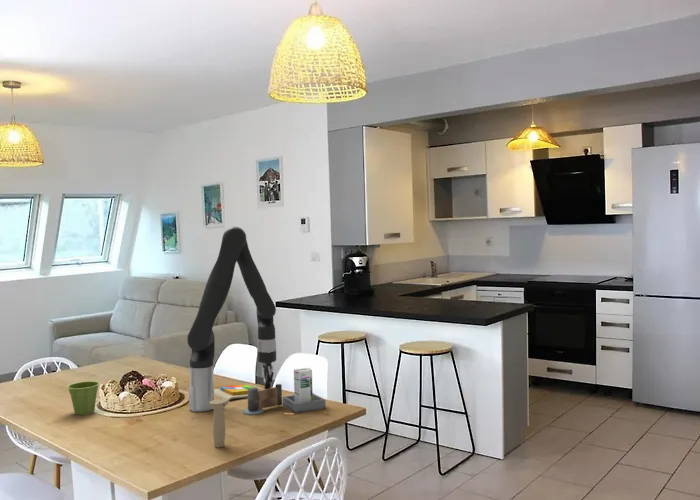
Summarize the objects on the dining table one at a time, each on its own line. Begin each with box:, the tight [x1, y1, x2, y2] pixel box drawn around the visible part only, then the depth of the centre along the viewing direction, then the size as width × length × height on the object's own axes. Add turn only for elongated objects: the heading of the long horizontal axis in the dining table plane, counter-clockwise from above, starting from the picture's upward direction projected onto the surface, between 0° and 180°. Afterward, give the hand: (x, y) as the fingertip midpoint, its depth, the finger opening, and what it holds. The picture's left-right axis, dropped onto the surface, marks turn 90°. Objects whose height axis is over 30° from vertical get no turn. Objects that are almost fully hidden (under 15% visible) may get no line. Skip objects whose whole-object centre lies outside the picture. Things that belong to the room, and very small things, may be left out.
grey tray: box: [282, 392, 326, 414], centre depth 247 cm, size 13×13×4 cm
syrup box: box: [293, 367, 314, 403], centre depth 247 cm, size 6×6×14 cm
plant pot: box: [66, 380, 101, 416], centre depth 242 cm, size 12×12×11 cm
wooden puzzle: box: [214, 383, 264, 402], centre depth 268 cm, size 18×19×4 cm
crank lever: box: [247, 383, 283, 411], centre depth 244 cm, size 14×4×8 cm, turn 123°
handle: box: [209, 398, 229, 448], centre depth 202 cm, size 5×6×15 cm
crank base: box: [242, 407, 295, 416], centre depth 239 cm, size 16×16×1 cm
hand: (267, 391), depth 249 cm, fingers closed
